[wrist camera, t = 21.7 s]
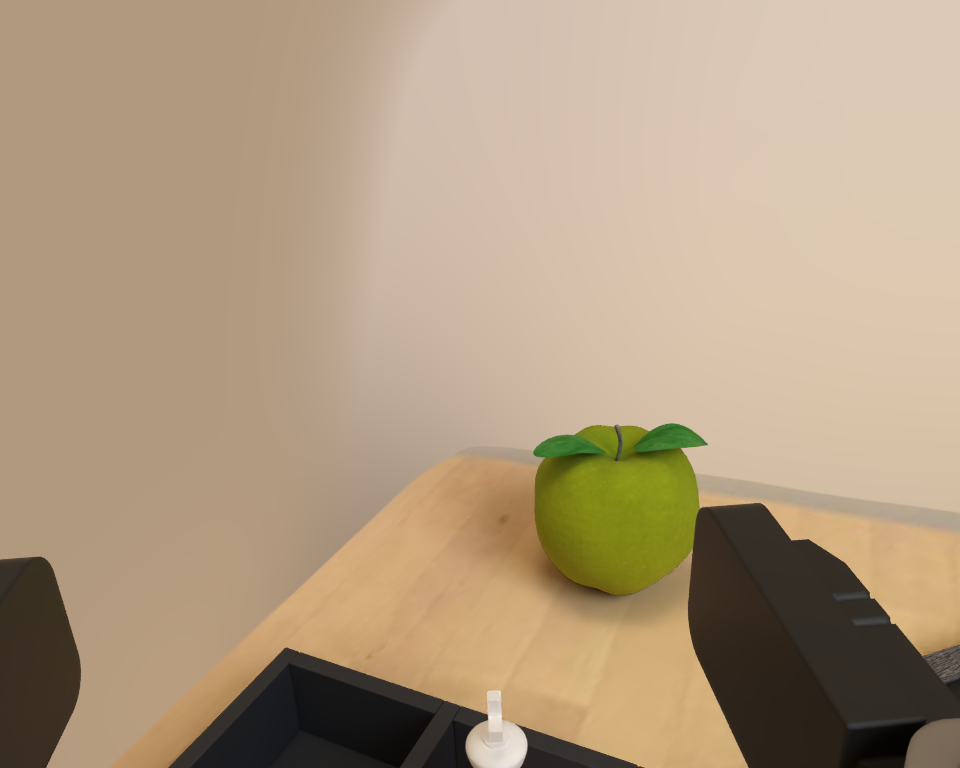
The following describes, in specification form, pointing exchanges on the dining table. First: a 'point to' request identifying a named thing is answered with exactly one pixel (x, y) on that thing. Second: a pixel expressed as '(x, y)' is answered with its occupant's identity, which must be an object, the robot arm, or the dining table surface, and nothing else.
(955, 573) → the dining table surface
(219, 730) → the caddy
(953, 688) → the picture frame
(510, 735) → the chess piece
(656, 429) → the fruit
